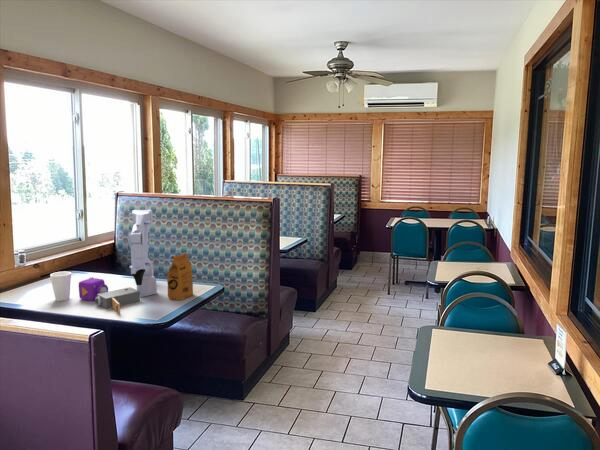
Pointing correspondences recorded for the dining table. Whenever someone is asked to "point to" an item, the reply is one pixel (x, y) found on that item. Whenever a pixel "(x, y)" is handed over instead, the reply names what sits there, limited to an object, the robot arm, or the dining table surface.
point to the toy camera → (91, 288)
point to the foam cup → (61, 285)
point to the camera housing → (118, 297)
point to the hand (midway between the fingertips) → (139, 284)
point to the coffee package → (180, 278)
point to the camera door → (116, 305)
